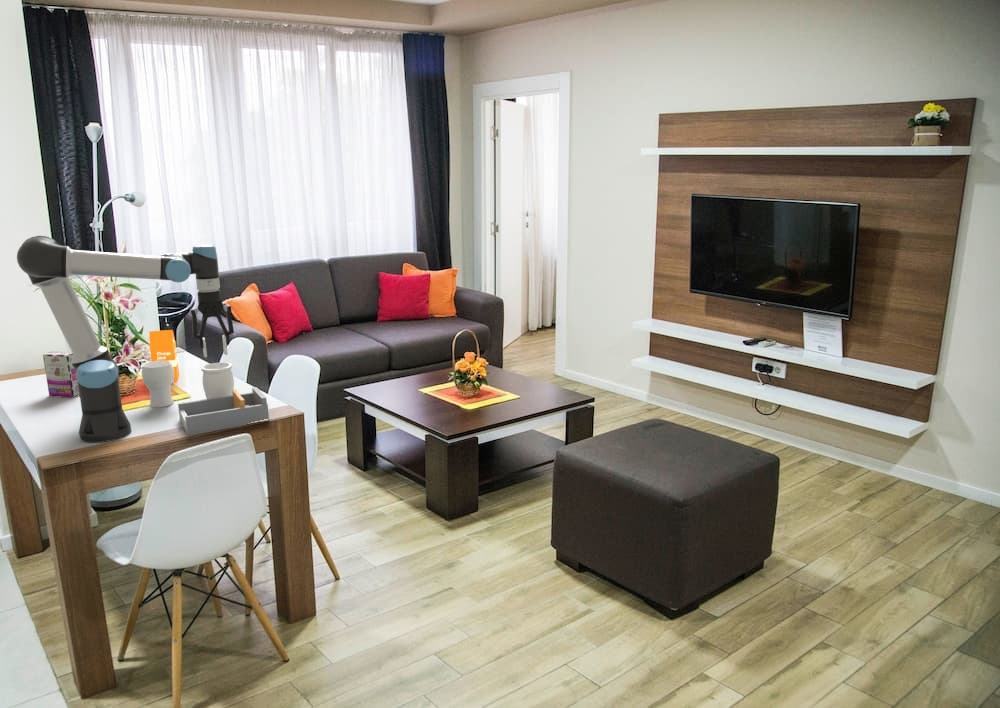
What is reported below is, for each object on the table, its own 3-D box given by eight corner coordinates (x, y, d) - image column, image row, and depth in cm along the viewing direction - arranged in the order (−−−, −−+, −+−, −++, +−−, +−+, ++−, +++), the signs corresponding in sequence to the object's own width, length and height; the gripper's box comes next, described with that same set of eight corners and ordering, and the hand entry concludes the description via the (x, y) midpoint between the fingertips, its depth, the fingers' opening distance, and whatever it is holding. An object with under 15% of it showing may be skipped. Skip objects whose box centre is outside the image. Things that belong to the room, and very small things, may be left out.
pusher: (242, 420, 271) (240, 400, 269) (234, 409, 282) (232, 390, 280) (255, 418, 273) (253, 398, 271) (246, 407, 284) (244, 388, 282)
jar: (226, 411, 284) (222, 370, 280) (199, 410, 286) (195, 369, 282) (241, 402, 294) (237, 362, 290) (215, 401, 296) (211, 361, 292)
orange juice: (156, 377, 328) (150, 329, 323) (179, 375, 330) (174, 327, 325) (153, 383, 320) (147, 333, 315) (177, 381, 323) (171, 331, 318)
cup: (139, 406, 291) (134, 366, 287) (163, 398, 300) (158, 359, 297) (160, 410, 287) (155, 369, 283) (184, 401, 296) (179, 362, 292)
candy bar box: (83, 394, 307) (77, 352, 303) (73, 398, 302) (67, 355, 298) (58, 392, 309) (51, 350, 305) (48, 396, 305) (41, 354, 301)
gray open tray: (187, 435, 261) (185, 411, 259) (179, 420, 276) (177, 397, 274) (269, 421, 273) (267, 398, 271) (257, 407, 288) (255, 386, 286)
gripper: (180, 294, 272) (188, 361, 278) (239, 289, 281) (245, 353, 286) (177, 291, 278) (185, 356, 284) (235, 286, 287) (241, 349, 293)
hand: (215, 355), depth 285 cm, fingers open, 6 cm apart
